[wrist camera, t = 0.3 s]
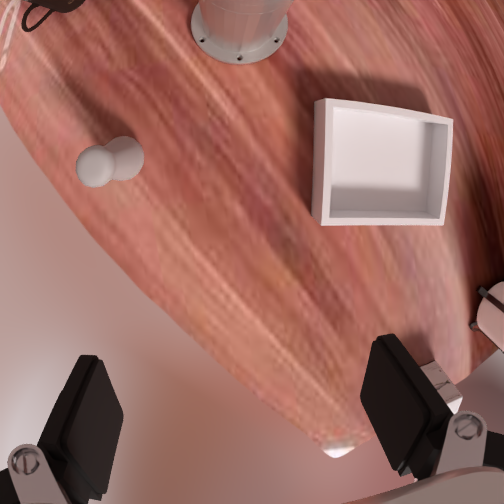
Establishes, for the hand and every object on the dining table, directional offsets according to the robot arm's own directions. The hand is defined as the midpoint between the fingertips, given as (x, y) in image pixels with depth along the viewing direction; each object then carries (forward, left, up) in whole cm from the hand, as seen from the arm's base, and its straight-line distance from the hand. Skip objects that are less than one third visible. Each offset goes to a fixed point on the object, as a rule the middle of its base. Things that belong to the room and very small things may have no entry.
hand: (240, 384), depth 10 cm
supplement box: (+40, +41, -35) cm, 67 cm away
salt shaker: (-5, -13, -35) cm, 38 cm away
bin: (-4, +22, -35) cm, 41 cm away
